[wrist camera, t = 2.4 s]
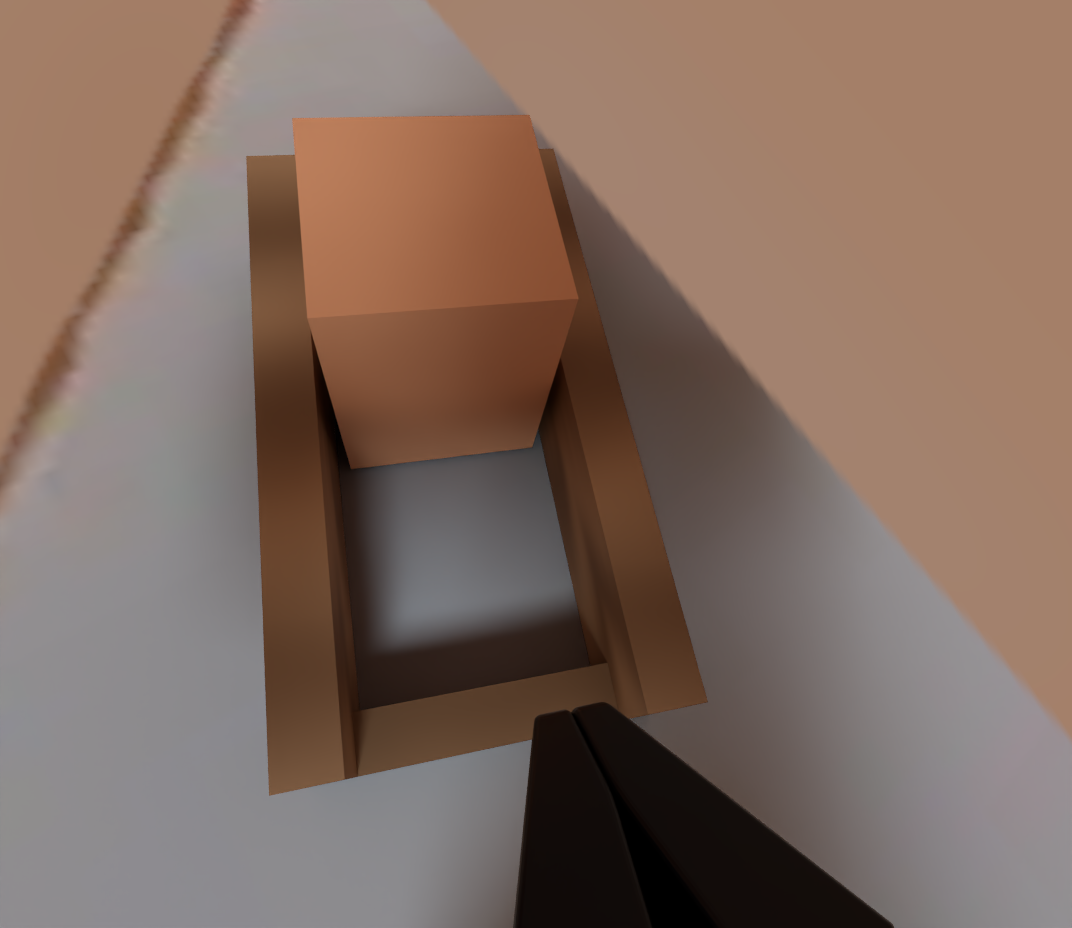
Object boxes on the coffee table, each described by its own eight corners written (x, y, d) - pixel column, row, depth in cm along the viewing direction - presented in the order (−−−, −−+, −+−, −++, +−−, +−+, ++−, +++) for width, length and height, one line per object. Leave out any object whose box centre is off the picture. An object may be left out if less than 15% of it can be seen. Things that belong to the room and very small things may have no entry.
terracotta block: (532, 447, 22) (578, 298, 15) (351, 468, 21) (307, 318, 14) (501, 303, 25) (529, 115, 17) (336, 316, 23) (291, 118, 16)
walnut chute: (651, 714, 20) (707, 702, 15) (307, 787, 18) (269, 795, 13) (535, 242, 26) (553, 148, 22) (277, 257, 24) (246, 156, 20)
